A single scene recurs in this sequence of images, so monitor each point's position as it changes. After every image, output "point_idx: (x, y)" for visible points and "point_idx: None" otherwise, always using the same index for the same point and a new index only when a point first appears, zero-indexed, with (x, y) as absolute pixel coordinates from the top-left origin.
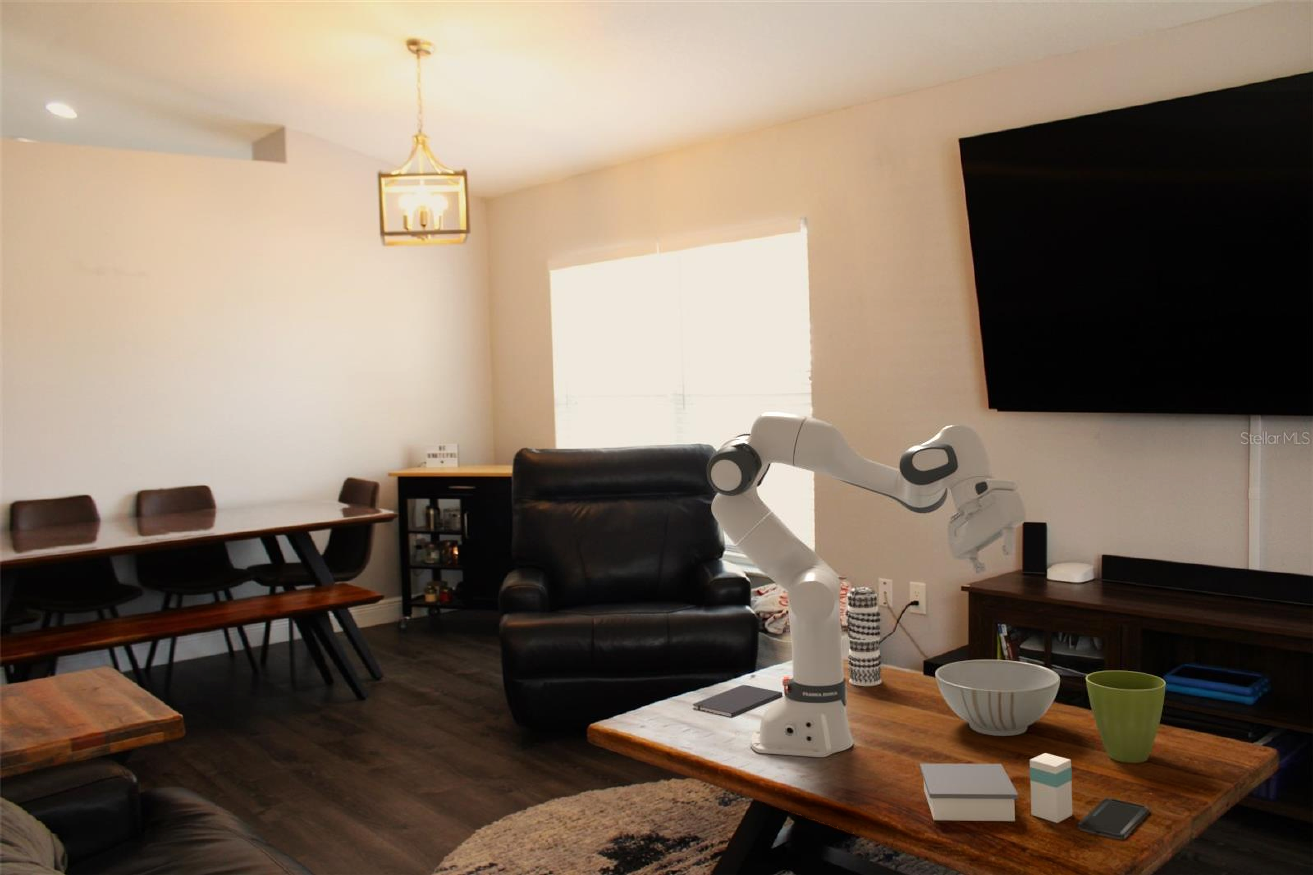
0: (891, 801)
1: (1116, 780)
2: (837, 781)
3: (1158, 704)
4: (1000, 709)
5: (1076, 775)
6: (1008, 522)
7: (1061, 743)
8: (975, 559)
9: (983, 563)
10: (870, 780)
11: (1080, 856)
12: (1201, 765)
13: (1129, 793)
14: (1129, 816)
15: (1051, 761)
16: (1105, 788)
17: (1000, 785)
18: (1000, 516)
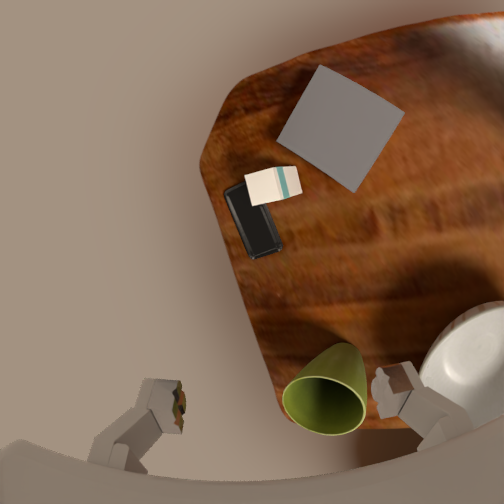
0: (389, 70)
1: (313, 300)
2: (462, 62)
3: (292, 390)
4: (453, 320)
5: (343, 284)
6: (29, 443)
7: (408, 348)
8: (427, 427)
9: (381, 413)
10: (451, 91)
11: (219, 141)
12: (296, 374)
13: (287, 281)
14: (246, 231)
15: (257, 184)
16: (306, 276)
17: (303, 142)
18: (46, 502)
